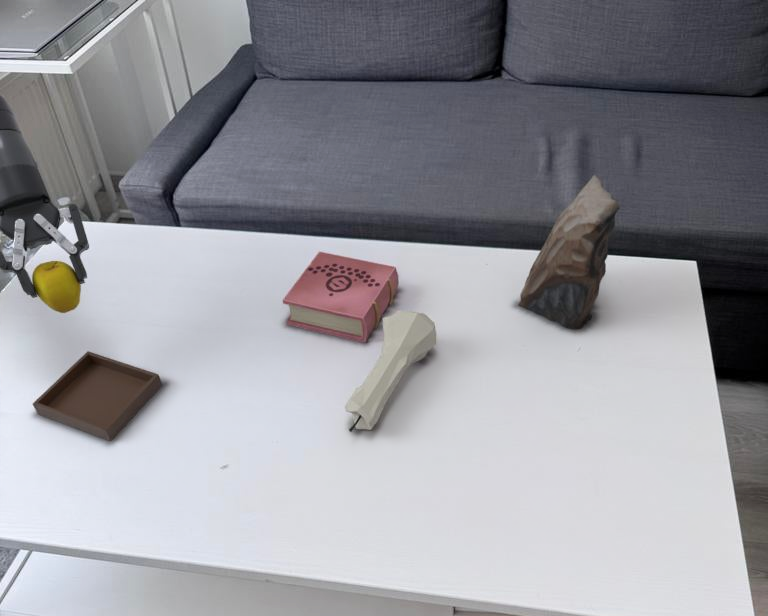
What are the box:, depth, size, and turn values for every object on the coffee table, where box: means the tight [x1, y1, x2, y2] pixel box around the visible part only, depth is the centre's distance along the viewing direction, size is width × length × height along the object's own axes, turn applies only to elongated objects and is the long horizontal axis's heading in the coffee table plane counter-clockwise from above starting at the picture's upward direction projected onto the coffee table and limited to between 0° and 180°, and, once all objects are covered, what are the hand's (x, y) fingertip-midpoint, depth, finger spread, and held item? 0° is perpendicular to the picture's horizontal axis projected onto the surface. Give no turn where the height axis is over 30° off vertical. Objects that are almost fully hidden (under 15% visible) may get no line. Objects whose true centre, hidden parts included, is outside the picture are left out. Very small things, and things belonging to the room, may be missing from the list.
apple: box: [31, 260, 82, 314], centre depth 109 cm, size 6×6×8 cm
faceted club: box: [344, 309, 438, 432], centre depth 113 cm, size 9×8×25 cm
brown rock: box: [518, 174, 621, 330], centre depth 118 cm, size 13×13×20 cm
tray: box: [32, 350, 163, 442], centre depth 116 cm, size 14×13×2 cm
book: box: [282, 251, 399, 344], centre depth 126 cm, size 14×15×5 cm
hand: (58, 289), depth 108 cm, fingers closed on apple, 6 cm apart
